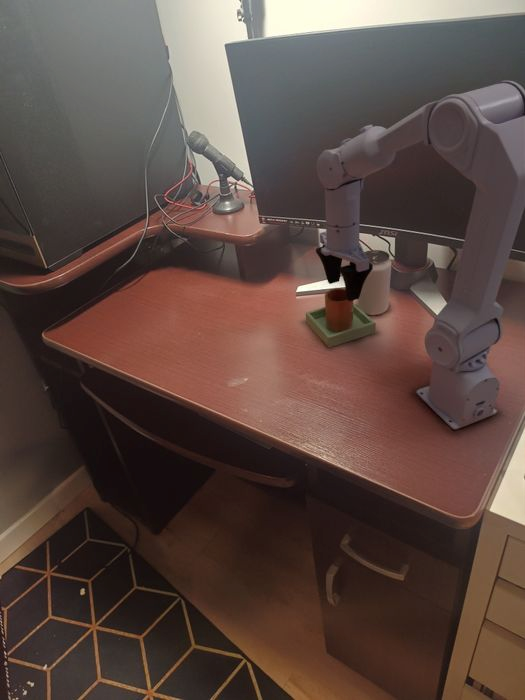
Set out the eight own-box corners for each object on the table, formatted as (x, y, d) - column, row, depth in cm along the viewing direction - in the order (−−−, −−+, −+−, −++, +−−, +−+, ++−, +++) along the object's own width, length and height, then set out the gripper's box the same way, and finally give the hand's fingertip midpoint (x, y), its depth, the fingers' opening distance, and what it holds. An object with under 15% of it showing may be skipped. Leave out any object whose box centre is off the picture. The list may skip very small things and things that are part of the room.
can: (386, 299, 100) (389, 248, 93) (390, 315, 95) (393, 262, 88) (356, 300, 101) (357, 249, 94) (358, 316, 96) (359, 264, 89)
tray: (375, 332, 91) (375, 322, 89) (328, 348, 88) (328, 337, 87) (349, 309, 98) (349, 299, 97) (306, 322, 96) (305, 312, 95)
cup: (358, 328, 91) (358, 297, 87) (333, 335, 90) (333, 305, 86) (344, 315, 96) (344, 285, 92) (321, 322, 94) (320, 292, 90)
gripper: (303, 213, 84) (307, 280, 92) (342, 241, 73) (343, 313, 81) (338, 205, 86) (339, 271, 94) (381, 230, 74) (378, 303, 82)
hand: (343, 290), depth 87 cm, fingers open, 7 cm apart
